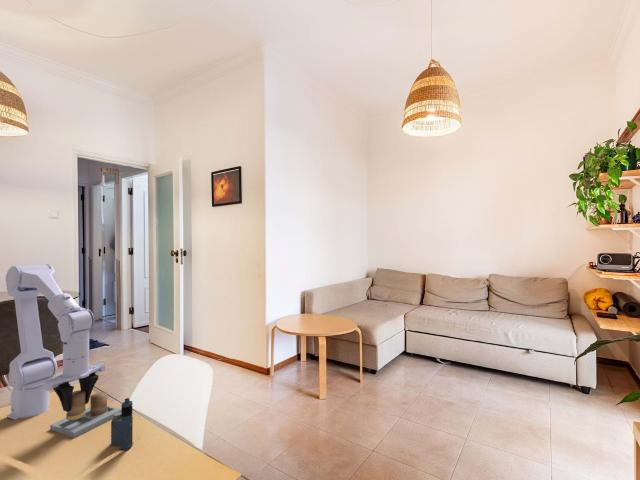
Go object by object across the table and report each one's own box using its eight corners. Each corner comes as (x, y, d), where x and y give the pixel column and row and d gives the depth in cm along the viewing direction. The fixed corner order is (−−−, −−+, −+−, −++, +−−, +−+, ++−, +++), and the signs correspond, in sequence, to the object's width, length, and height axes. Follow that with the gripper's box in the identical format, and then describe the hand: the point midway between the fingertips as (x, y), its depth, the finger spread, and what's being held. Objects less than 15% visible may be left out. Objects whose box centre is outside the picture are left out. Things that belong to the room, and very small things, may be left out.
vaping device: (127, 451, 80) (127, 402, 80) (108, 449, 81) (108, 400, 81) (135, 445, 83) (135, 397, 83) (117, 443, 84) (117, 395, 84)
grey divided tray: (50, 433, 88) (50, 424, 88) (98, 410, 100) (99, 403, 100) (74, 441, 84) (74, 432, 84) (121, 417, 96) (121, 409, 96)
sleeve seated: (86, 417, 94) (86, 396, 94) (101, 410, 98) (101, 390, 98) (96, 421, 92) (96, 399, 92) (111, 413, 96) (111, 392, 96)
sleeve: (62, 418, 88) (62, 395, 88) (79, 410, 92) (79, 389, 92) (72, 421, 87) (72, 398, 87) (89, 413, 91) (89, 391, 91)
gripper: (55, 367, 81) (55, 423, 81) (112, 349, 95) (112, 397, 95) (38, 363, 84) (37, 417, 84) (95, 347, 97) (95, 393, 97)
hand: (76, 406), depth 89 cm, fingers closed on sleeve, 4 cm apart
